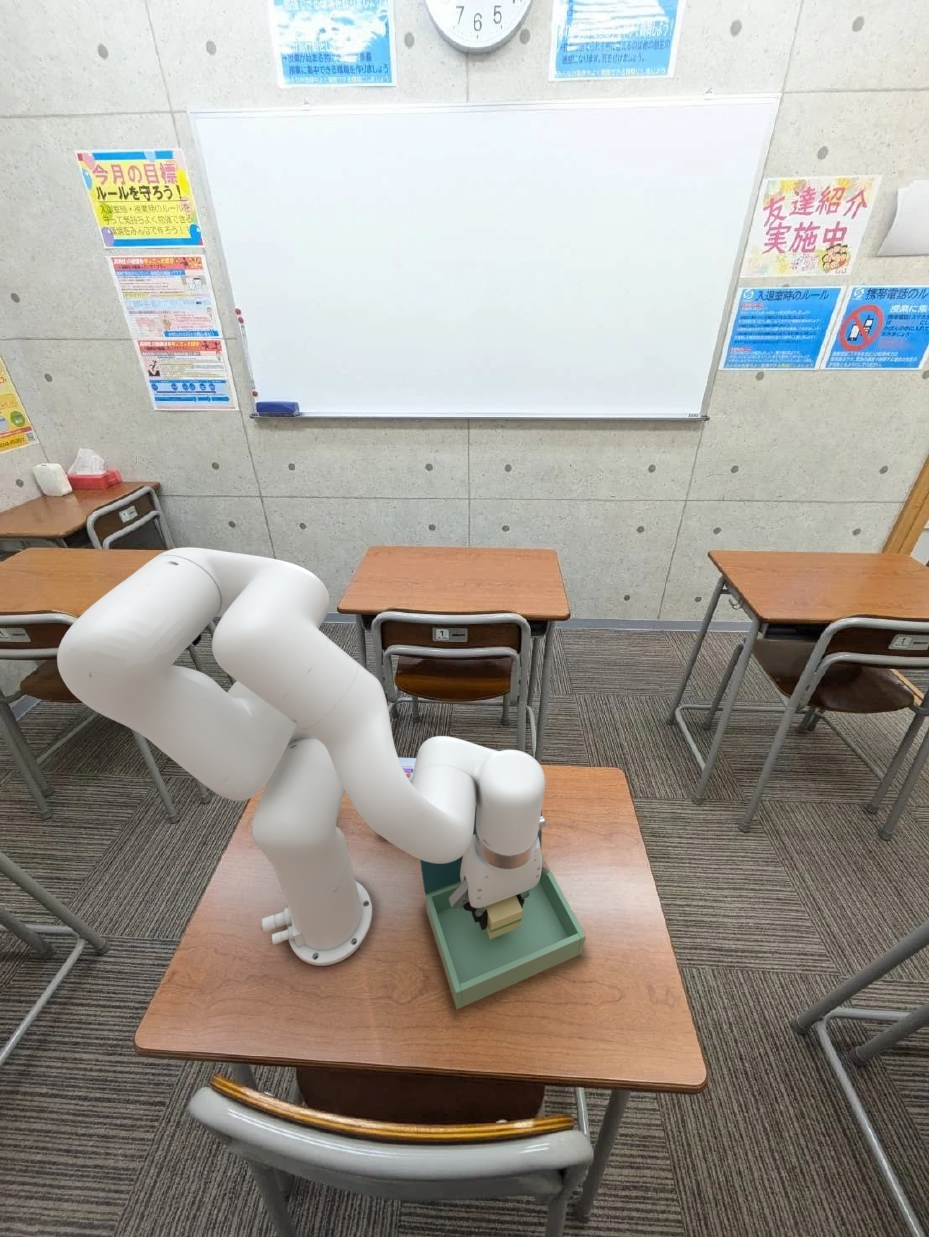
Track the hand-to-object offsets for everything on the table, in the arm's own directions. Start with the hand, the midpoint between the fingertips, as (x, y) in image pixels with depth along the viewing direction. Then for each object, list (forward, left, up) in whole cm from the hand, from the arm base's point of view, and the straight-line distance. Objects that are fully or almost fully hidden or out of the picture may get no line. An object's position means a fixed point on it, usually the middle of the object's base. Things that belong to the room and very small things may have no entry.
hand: (497, 911), depth 73 cm
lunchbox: (+1, 0, -6) cm, 6 cm away
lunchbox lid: (+1, +7, +7) cm, 10 cm away
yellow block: (0, 0, -1) cm, 1 cm away
